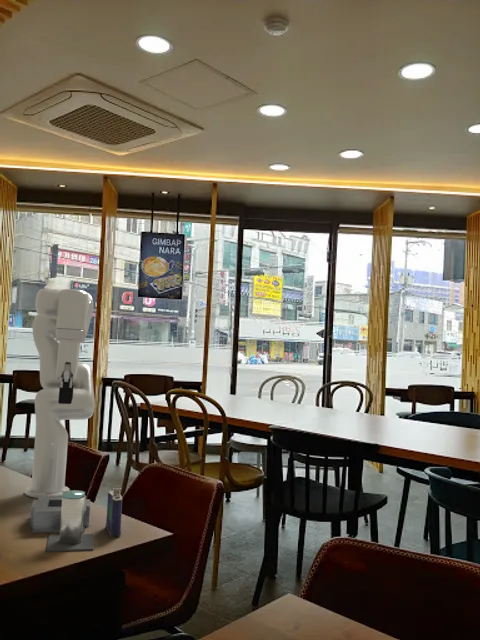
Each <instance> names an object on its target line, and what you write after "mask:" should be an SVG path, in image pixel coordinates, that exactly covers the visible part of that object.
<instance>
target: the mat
mask: <svg viewBox="0 0 480 640" xmlns="http://www.w3.org/2000/svg"><path fill="white" fill-rule="evenodd" d="M59 537H60V534H49V535H48V538H47V544H46V550H45V552H46V553H53V552H54V553H55V552H56V553H57V552H58V553H59V552H83V551H84V552H85V551H86V552H87V551H89V552H90V551H94V533H82V541H81V542H80V543H77V544H70V545H68V544H61V543H60V542H59Z"/></svg>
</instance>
